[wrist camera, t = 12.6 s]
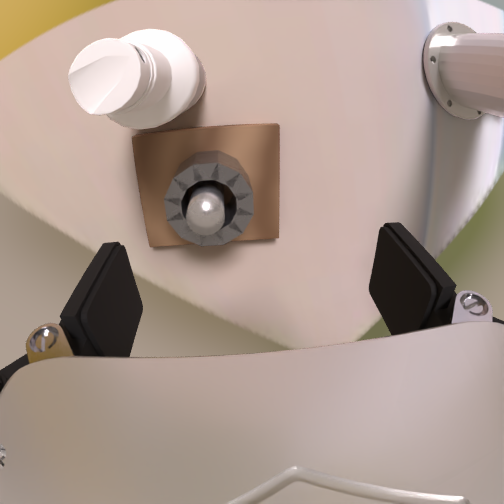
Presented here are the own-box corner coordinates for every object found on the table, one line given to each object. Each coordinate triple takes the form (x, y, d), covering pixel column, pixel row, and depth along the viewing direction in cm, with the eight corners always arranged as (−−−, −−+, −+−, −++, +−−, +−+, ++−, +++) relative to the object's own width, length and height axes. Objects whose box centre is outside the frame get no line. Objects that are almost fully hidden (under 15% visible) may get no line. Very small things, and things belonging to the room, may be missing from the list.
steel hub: (247, 148, 28) (252, 160, 24) (249, 219, 32) (254, 242, 27) (169, 154, 28) (159, 168, 23) (178, 224, 31) (171, 248, 27)
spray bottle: (219, 91, 26) (214, 97, 11) (158, 127, 27) (83, 183, 12) (185, 35, 23) (137, -27, 8) (124, 73, 24) (15, 71, 9)
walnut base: (276, 123, 28) (279, 125, 27) (276, 231, 34) (278, 238, 33) (135, 134, 27) (131, 137, 26) (152, 240, 34) (149, 247, 32)
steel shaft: (222, 173, 29) (223, 198, 23) (224, 201, 31) (225, 233, 25) (191, 175, 29) (183, 201, 23) (194, 204, 30) (188, 236, 24)
